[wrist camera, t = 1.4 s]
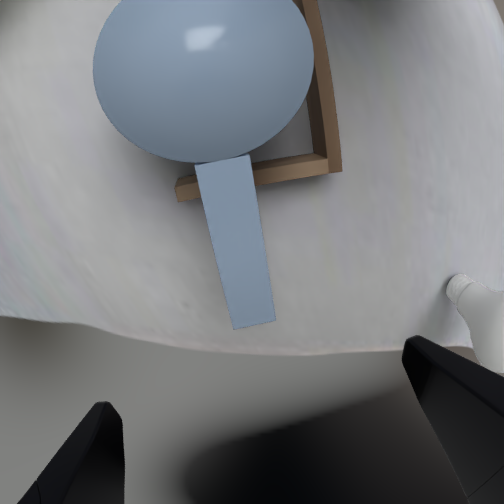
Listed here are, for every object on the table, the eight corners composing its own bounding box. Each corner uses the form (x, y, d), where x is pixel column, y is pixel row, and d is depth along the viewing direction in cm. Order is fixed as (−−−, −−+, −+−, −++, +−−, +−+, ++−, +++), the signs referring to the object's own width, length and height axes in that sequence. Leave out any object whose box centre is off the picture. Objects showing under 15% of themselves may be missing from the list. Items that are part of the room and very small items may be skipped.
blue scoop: (122, 31, 13) (83, -5, 7) (263, 4, 13) (293, -43, 8) (178, 274, 20) (171, 341, 14) (300, 248, 20) (337, 305, 14)
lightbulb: (434, 254, 22) (526, 334, 12) (479, 247, 23) (563, 311, 13) (419, 315, 25) (489, 400, 15) (464, 303, 26) (531, 372, 16)
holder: (295, -28, 12) (305, -43, 10) (327, 164, 18) (342, 171, 16) (143, -9, 12) (136, -22, 10) (181, 191, 18) (178, 202, 16)
